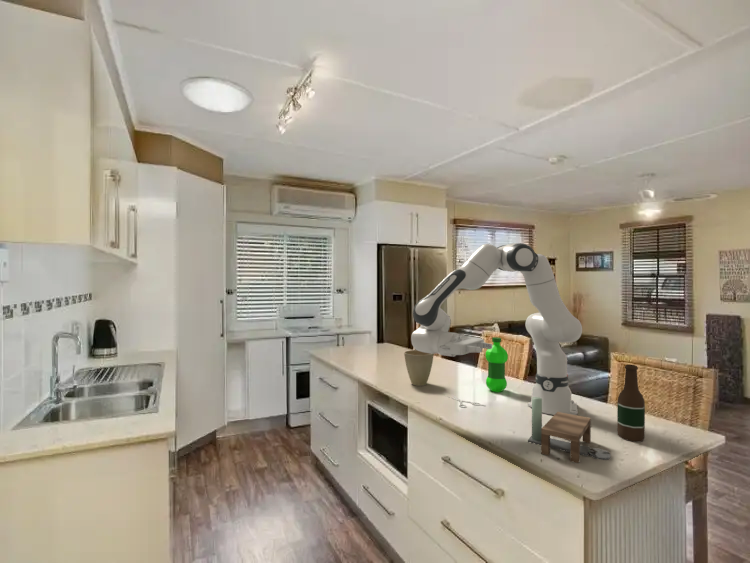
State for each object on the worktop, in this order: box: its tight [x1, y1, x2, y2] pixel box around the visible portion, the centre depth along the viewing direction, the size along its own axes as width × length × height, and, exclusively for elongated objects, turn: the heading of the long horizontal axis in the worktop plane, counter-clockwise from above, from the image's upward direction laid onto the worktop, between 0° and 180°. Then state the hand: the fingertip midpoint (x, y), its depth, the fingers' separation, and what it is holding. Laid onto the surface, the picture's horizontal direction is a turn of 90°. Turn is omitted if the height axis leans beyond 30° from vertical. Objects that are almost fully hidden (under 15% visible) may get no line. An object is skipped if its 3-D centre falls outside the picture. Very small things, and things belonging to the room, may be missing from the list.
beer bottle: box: [616, 364, 646, 443], centre depth 131 cm, size 8×8×24 cm
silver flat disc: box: [588, 447, 611, 461], centre depth 117 cm, size 6×6×1 cm
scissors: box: [444, 394, 486, 409], centre depth 170 cm, size 11×1×20 cm
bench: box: [540, 412, 592, 464], centre depth 123 cm, size 20×10×8 cm, turn 142°
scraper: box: [527, 396, 591, 457], centre depth 124 cm, size 17×6×14 cm, turn 54°
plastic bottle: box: [485, 336, 509, 393], centre depth 187 cm, size 10×10×25 cm
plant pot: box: [403, 349, 435, 387], centre depth 198 cm, size 15×15×16 cm
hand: (486, 348), depth 139 cm, fingers open, 8 cm apart
